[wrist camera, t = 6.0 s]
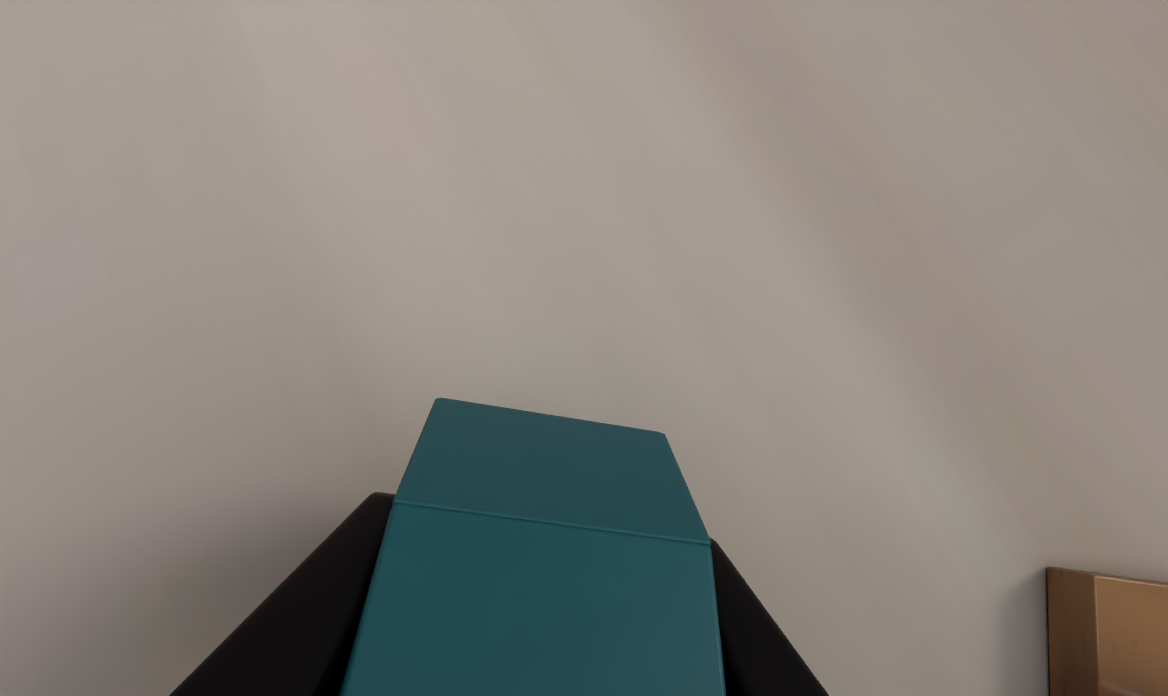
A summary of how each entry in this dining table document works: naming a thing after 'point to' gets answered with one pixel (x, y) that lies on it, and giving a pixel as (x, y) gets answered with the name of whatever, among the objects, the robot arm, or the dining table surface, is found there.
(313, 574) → the robot arm
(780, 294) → the dining table surface
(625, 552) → the tape roll
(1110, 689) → the hook base
